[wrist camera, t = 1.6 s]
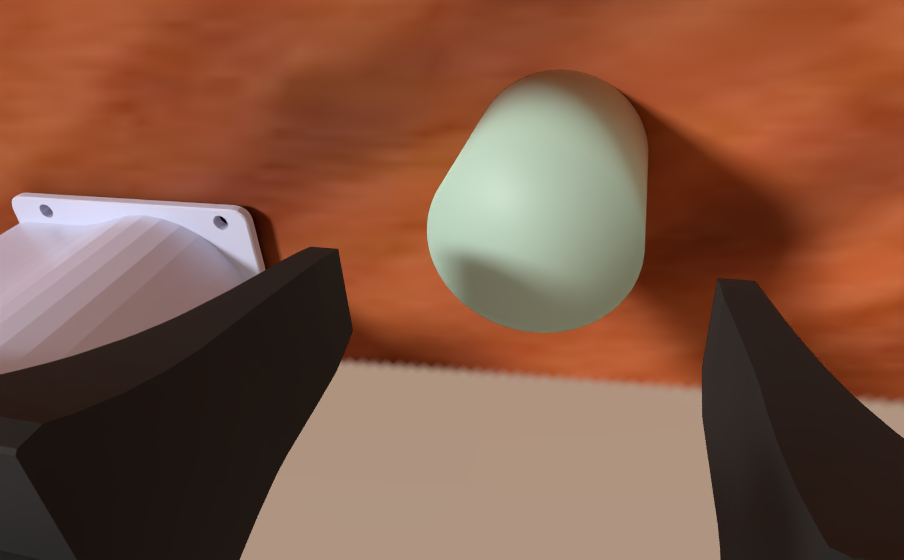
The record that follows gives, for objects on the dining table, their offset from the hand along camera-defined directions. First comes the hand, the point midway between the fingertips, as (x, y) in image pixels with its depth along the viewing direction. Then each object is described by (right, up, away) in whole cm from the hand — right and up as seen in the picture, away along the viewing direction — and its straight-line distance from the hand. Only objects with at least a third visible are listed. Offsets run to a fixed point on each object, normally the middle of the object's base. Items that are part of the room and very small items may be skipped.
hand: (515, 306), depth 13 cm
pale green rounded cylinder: (+2, +4, +6) cm, 7 cm away
